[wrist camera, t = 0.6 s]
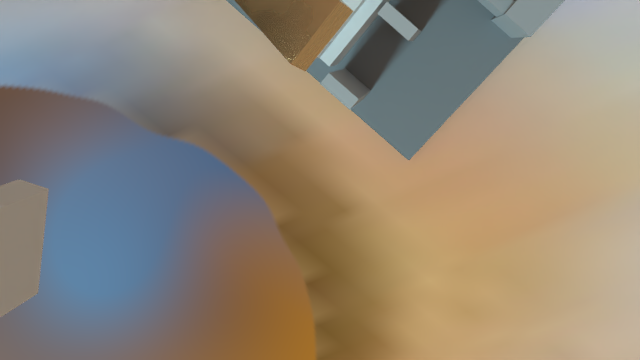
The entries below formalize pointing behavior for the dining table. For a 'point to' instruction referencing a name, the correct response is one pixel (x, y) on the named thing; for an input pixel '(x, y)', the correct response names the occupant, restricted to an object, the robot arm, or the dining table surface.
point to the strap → (298, 25)
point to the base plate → (419, 59)
